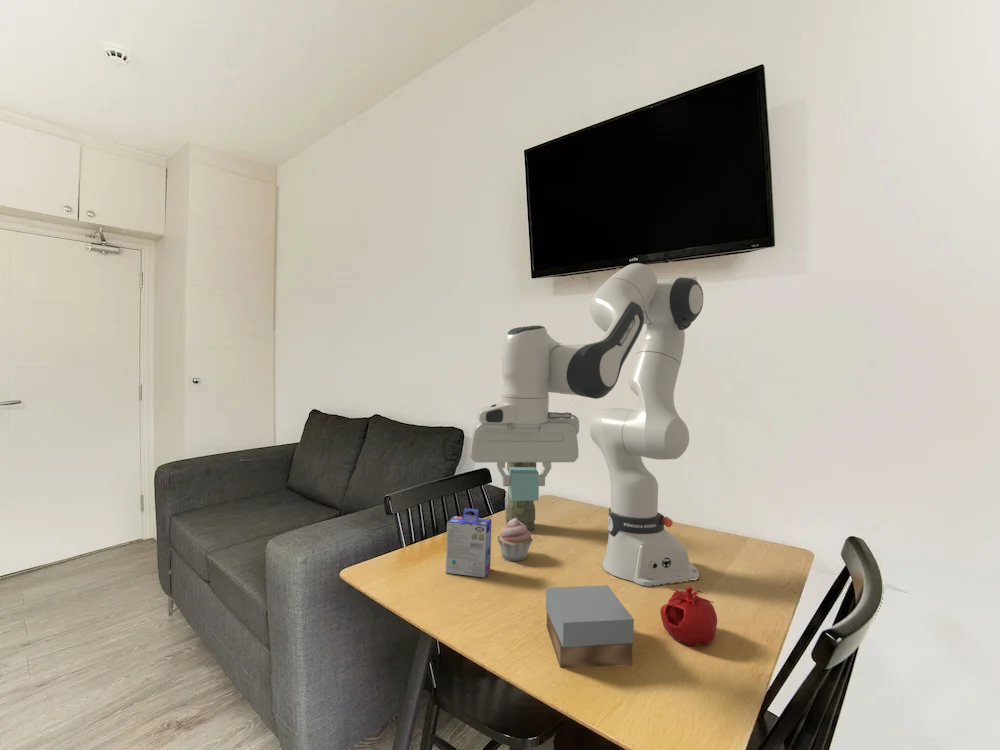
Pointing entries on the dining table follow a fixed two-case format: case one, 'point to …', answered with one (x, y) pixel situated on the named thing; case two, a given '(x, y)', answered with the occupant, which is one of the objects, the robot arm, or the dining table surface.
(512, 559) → the cupcake
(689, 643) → the pomegranate
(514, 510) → the thermos
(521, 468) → the teal cube
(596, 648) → the tower bottom slab
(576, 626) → the tower top slab
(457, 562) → the ink cartridge box
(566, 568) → the dining table surface
